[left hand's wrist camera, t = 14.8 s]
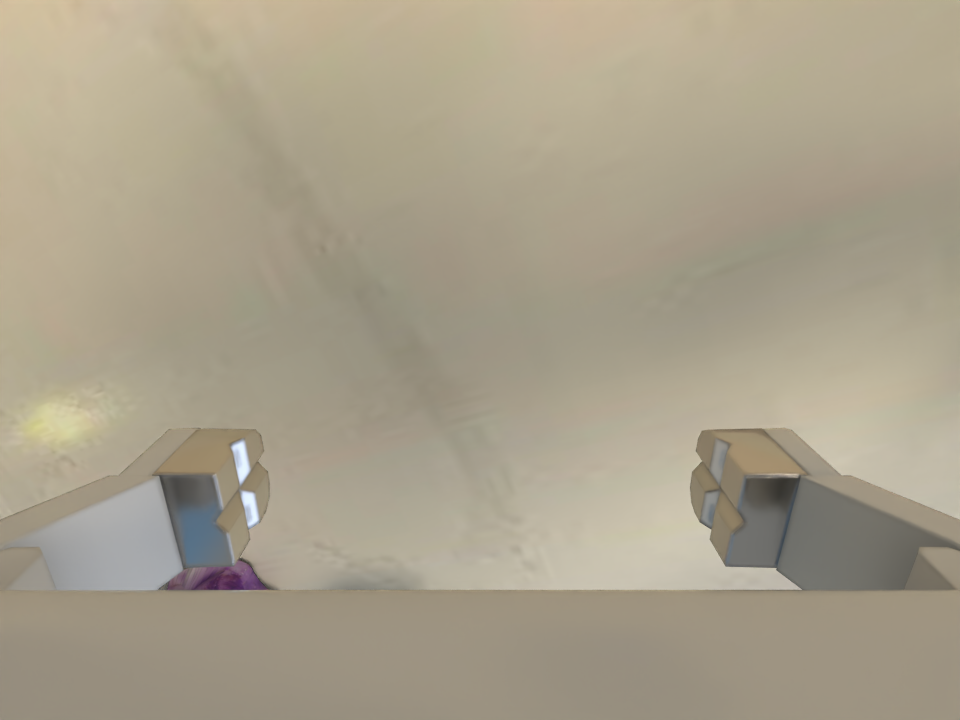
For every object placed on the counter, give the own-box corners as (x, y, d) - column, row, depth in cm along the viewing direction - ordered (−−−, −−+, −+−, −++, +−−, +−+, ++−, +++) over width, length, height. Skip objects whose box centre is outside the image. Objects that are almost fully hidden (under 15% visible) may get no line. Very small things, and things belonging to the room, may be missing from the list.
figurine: (146, 592, 51) (22, 759, 38) (210, 532, 49) (103, 688, 35) (227, 644, 54) (139, 819, 40) (292, 591, 51) (222, 758, 38)
